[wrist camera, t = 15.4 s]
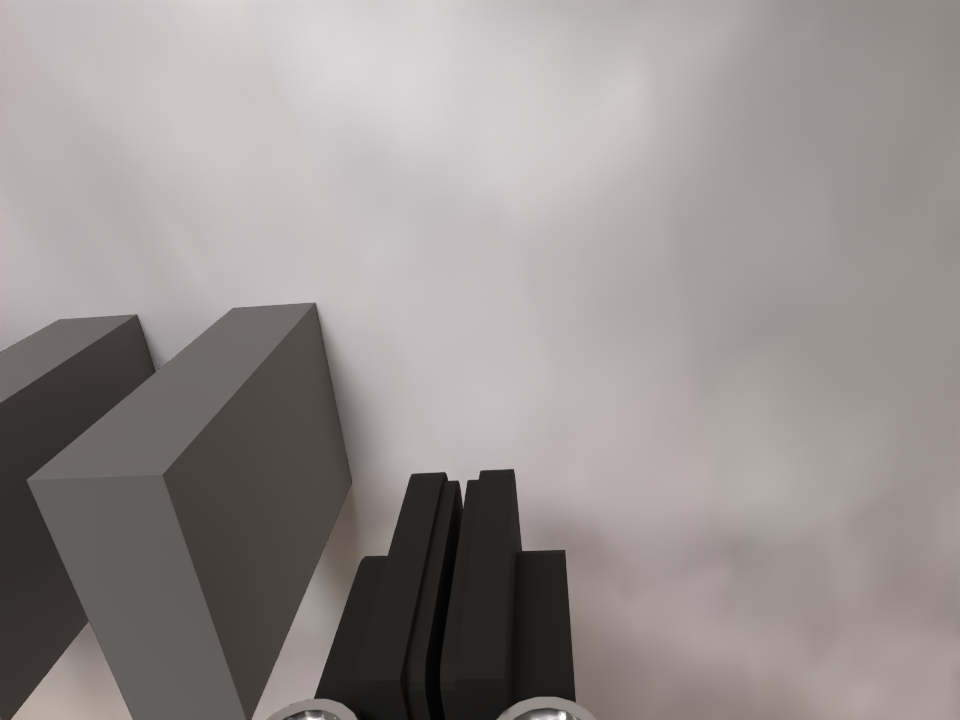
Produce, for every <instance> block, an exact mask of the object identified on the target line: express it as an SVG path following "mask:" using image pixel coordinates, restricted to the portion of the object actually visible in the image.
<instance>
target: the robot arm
mask: <svg viewBox="0 0 960 720" xmlns="http://www.w3.org/2000/svg"><path fill="white" fill-rule="evenodd" d="M267 720H597V719H596V718H595V717H594V716H593V714H592V713H591V712H590V711H588V710H586V709H585V708H583V707H581V706H580V705H578V704H576V698H575V684H574V670H573V656H572V641H571V627H570V613H569V599H568V585H567V571H566V557H565V550H549V551H522V545H521V535H520V524H519V513H518V502H517V492H516V481H515V473H514V469H506V470H484V471H480V476H479V480H468V482H467V488H466V494H465V501H464V508H463V504H462V497H461V489H460V484H459V481H448V478H447V475H446V473H445V472H440V473H418V474H412V475H411V477H410V480H409V483H408V487H407V490H406V494H405V497H404V501H403V504H402V508H401V511H400V515H399V518H398V521H397V525H396V528H395V532H394V535H393V539H392V542H391V546H390V549H389V553H388V556H365V557H364V558H363V559H362V561H361V563H360V565H359V567H358V570H357V573H356V576H355V579H354V582H353V585H352V588H351V591H350V594H349V597H348V600H347V603H346V606H345V609H344V611H343V614H342V617H341V620H340V623H339V626H338V629H337V632H336V635H335V638H334V641H333V644H332V647H331V650H330V653H329V656H328V659H327V662H326V665H325V667H324V670H323V673H322V676H321V679H320V682H319V685H318V688H317V691H316V694H315V697H314V699H308V700H304V701H301V702H297V703H294V704H291V705H289V706H287V707H285V708H283V709H281V710H280V711H278V712H276V713H274V714H273V715H271V716H270V717H269V718H268V719H267Z"/></svg>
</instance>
